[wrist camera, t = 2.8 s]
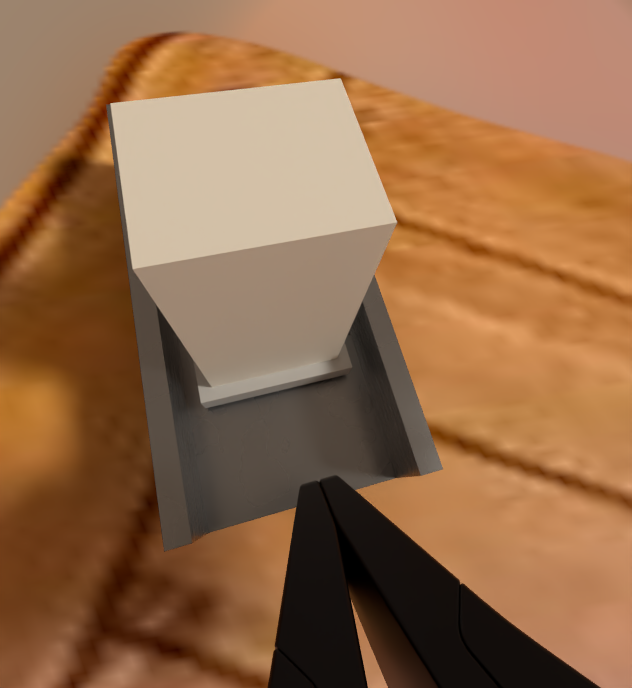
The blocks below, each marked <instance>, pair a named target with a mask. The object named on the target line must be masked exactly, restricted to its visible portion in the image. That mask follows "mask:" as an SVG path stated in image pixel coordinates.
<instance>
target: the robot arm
mask: <svg viewBox="0 0 632 688" xmlns="http://www.w3.org/2000/svg"><path fill="white" fill-rule="evenodd" d="M351 600H352V603H353V605H354V607H355V610H356V612H357V614H358V617H359V619H360V622H361V624H362V626H363V629H364V631H365V634H366V636H367V638H368V641H369V643H370V645H371V648H372V650H373V653H374V655H375V657H376V660H377V662H378V664H379V667H380V669H381V672H382V674H383V676H384V679H385V681H386V684H387V686H388V688H600V687H599V686H597V685H596V684H595V683H593V682H592V681H590V680H589V679H588V678H586V677H585V676H583V675H582V674H581V673H579V672H578V671H576V670H575V669H574V668H572V667H571V666H569V665H568V664H566V663H565V662H564V661H562V660H561V659H559V658H558V657H557V656H555V655H554V654H552V653H551V652H550V651H548V650H547V649H545V648H544V647H543V646H541V645H540V644H538V643H537V642H536V641H534V640H533V639H532V638H530V637H529V636H528V635H526V634H525V633H524V632H522V631H521V630H520V629H518V628H517V627H516V626H514V625H513V624H511V623H510V622H509V621H508V620H506V619H505V618H504V617H503V616H501V615H500V614H499V613H498V612H497V611H495V610H494V609H493V608H492V607H490V606H489V605H488V604H487V603H486V602H484V601H483V600H482V599H481V598H480V597H478V596H477V595H476V594H475V593H474V592H473V591H471V590H470V589H469V588H468V587H467V586H466V585H465V584H461V585H460V581H459V579H457V578H456V577H455V576H454V575H453V574H452V573H450V572H449V571H448V570H447V569H446V568H445V567H443V566H442V565H441V564H440V563H439V562H438V561H436V560H435V559H434V558H433V557H432V556H431V555H430V554H428V553H427V552H426V551H425V550H424V549H423V548H421V547H420V546H419V545H418V544H417V543H416V542H414V541H413V540H412V539H411V538H410V537H409V536H407V535H406V534H405V533H404V532H403V531H402V530H401V529H399V528H398V527H397V526H396V525H395V524H394V523H392V522H391V521H390V520H389V519H388V518H387V517H385V516H384V515H383V514H382V513H381V512H380V511H378V510H377V509H376V508H375V507H374V506H373V505H372V504H370V503H369V502H368V501H367V500H366V499H365V498H363V497H362V496H361V495H360V494H359V493H358V492H356V491H355V490H354V489H353V488H352V487H351V486H349V485H348V484H347V483H346V482H345V481H344V480H343V479H341V478H340V477H339V476H337V475H333V476H329V477H325V478H322V479H320V481H319V482H318V481H316V480H315V481H311V482H308V483H304V484H302V485H301V486H300V488H299V494H298V500H297V507H296V513H295V520H294V526H293V532H292V539H291V545H290V551H289V558H288V564H287V571H286V577H285V583H284V590H283V596H282V602H281V609H280V615H279V622H278V628H277V634H276V641H275V650H274V652H273V658H272V665H271V671H270V677H269V682H268V688H368V686H367V681H366V675H365V670H364V665H363V660H362V655H361V650H360V645H359V639H358V634H357V629H356V624H355V619H354V614H353V609H352V603H351Z"/></svg>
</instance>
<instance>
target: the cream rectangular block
mask: <svg viewBox="0 0 632 688" xmlns="http://www.w3.org/2000/svg"><path fill="white" fill-rule="evenodd" d="M110 104H111V112H112V119H113V127H114V134H115V142H116V149H117V157H118V164H119V172H120V179H121V187H122V194H123V201H124V209H125V216H126V224H127V231H128V239H129V246H130V254H131V261H132V269H133V270H134V272H135V273H136V275H137V276H138V278H139V279H140V281H141V282H142V284H143V285H144V287H145V288H146V290H147V291H148V293H149V294H150V296H151V297H152V299H153V300H154V302H155V303H156V305H157V306H158V308H159V309H160V311H161V312H162V314H163V315H164V317H165V318H166V320H167V321H168V323H169V324H170V326H171V327H172V329H173V330H174V332H175V333H176V335H177V336H178V338H179V339H180V341H181V342H182V344H183V345H184V347H185V348H186V350H187V351H188V353H189V354H190V356H191V357H192V359H193V361H194V367H195V373H196V378H197V384H198V390H199V395H200V401H201V404H202V405H203V406H204V407H205V408H209V407H213V406H217V405H222V404H226V403H230V402H234V401H238V400H242V399H247V398H251V397H255V396H259V395H263V394H267V393H271V392H276V391H280V390H284V389H288V388H292V387H296V386H301V385H305V384H309V383H313V382H317V381H321V380H326V379H330V378H334V377H338V376H342V375H346V374H349V372H350V370H351V369H352V364H351V361H350V358H349V355H348V351H347V348H346V345H345V339H346V337H347V335H348V332H349V330H350V328H351V326H352V323H353V321H354V319H355V317H356V314H357V312H358V310H359V308H360V305H361V303H362V301H363V299H364V296H365V294H366V292H367V289H368V287H369V285H370V283H371V280H372V278H373V276H374V274H375V271H376V269H377V267H378V265H379V262H380V260H381V258H382V255H383V253H384V251H385V249H386V246H387V244H388V242H389V240H390V237H391V235H392V233H393V231H394V228H395V226H396V224H397V221H396V218H395V216H394V213H393V211H392V208H391V205H390V203H389V200H388V198H387V195H386V193H385V190H384V188H383V185H382V183H381V180H380V177H379V175H378V172H377V170H376V167H375V165H374V162H373V160H372V157H371V155H370V152H369V149H368V147H367V144H366V142H365V139H364V137H363V134H362V132H361V129H360V127H359V124H358V121H357V119H356V116H355V114H354V111H353V109H352V106H351V104H350V101H349V99H348V96H347V93H346V91H345V88H344V86H343V83H342V81H341V78H340V79H331V80H322V81H313V82H303V83H294V84H285V85H276V86H266V87H257V88H248V89H239V90H229V91H220V92H211V93H202V94H193V95H183V96H174V97H165V98H156V99H146V100H137V101H128V102H119V103H110Z"/></svg>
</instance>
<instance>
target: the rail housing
mask: <svg viewBox="0 0 632 688" xmlns="http://www.w3.org/2000/svg"><path fill="white" fill-rule="evenodd" d="M106 106H107V114H108V121H109V129H110V137H111V144H112V152H113V160H114V168H115V175H116V183H117V191H118V198H119V206H120V214H121V222H122V229H123V237H124V245H125V253H126V260H127V268H128V276H129V283H130V291H131V299H132V307H133V314H134V322H135V330H136V337H137V345H138V353H139V361H140V368H141V376H142V384H143V392H144V399H145V407H146V415H147V422H148V430H149V438H150V446H151V453H152V461H153V469H154V476H155V484H156V492H157V500H158V507H159V515H160V523H161V531H162V538H163V546H164V551H167V550H171V549H174V548H177V547H181V546H184V545H188V544H191V543H193V542H195V541H196V540H198V539H200V538H201V537H203V536H204V535H206V534H208V533H209V532H213V531H216V530H220V529H223V528H227V527H230V526H233V525H237V524H240V523H244V522H247V521H250V520H254V519H257V518H261V517H264V516H268V515H271V514H274V513H278V512H281V511H285V510H288V509H291V508H295V507H297V500H298V494H299V488H300V486H301V485H302V484H304V483H308V482H311V481H315V480H316V481H318V482H319V481H320V479H322V478H325V477H329V476H333V475H337V476H339V477H340V478H341V479H343V480H344V481H345V482H346V483H347V484H348V485H349V486H351V487H352V488H353V489H354V490H356V489H360V488H363V487H367V486H370V485H373V484H377V483H380V482H384V481H387V480H391V479H394V478H401V477H412V476H422V475H425V474H428V473H432V472H435V471H439V470H442V469H443V468H442V465H441V462H440V459H439V456H438V453H437V451H436V448H435V445H434V442H433V439H432V436H431V434H430V431H429V428H428V425H427V422H426V419H425V417H424V414H423V411H422V408H421V405H420V403H419V400H418V397H417V394H416V391H415V388H414V386H413V383H412V380H411V377H410V374H409V371H408V369H407V366H406V363H405V360H404V357H403V354H402V352H401V349H400V346H399V343H398V340H397V337H396V335H395V332H394V329H393V326H392V323H391V320H390V318H389V315H388V312H387V309H386V306H385V303H384V301H383V298H382V295H381V292H380V289H379V287H378V284H377V281H376V278H375V275H374V276H373V278H372V280H371V283H370V285H369V287H368V289H367V292H366V294H365V296H364V299H363V301H362V303H361V305H360V308H359V310H358V312H357V314H356V317H355V319H354V321H353V323H352V326H351V328H350V330H349V332H348V335H347V337H346V339H345V345H346V348H347V351H348V355H349V358H350V361H351V364H352V369H351V370H350V372H349V374H346V375H342V376H338V377H334V378H330V379H326V380H321V381H317V382H313V383H309V384H305V385H301V386H296V387H292V388H288V389H284V390H280V391H276V392H271V393H267V394H263V395H259V396H255V397H251V398H247V399H242V400H238V401H234V402H230V403H226V404H222V405H217V406H213V407H209V408H205V407H204V406H203V405H202V404H201V401H200V395H199V390H198V384H197V378H196V373H195V367H194V361H193V359H192V357H191V356H190V354H189V353H188V351H187V350H186V348H185V347H184V345H183V344H182V342H181V341H180V339H179V338H178V336H177V335H176V333H175V332H174V330H173V329H172V327H171V326H170V324H169V323H168V321H167V320H166V318H165V317H164V315H163V314H162V312H161V311H160V309H159V308H158V306H157V305H156V303H155V302H154V300H153V299H152V297H151V296H150V294H149V293H148V291H147V290H146V288H145V287H144V285H143V284H142V282H141V281H140V279H139V278H138V276H137V275H136V273H135V272H134V270H133V269H132V261H131V254H130V246H129V239H128V231H127V224H126V216H125V209H124V201H123V194H122V187H121V179H120V172H119V164H118V157H117V149H116V142H115V134H114V127H113V119H112V112H111V104H110V105H106Z"/></svg>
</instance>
